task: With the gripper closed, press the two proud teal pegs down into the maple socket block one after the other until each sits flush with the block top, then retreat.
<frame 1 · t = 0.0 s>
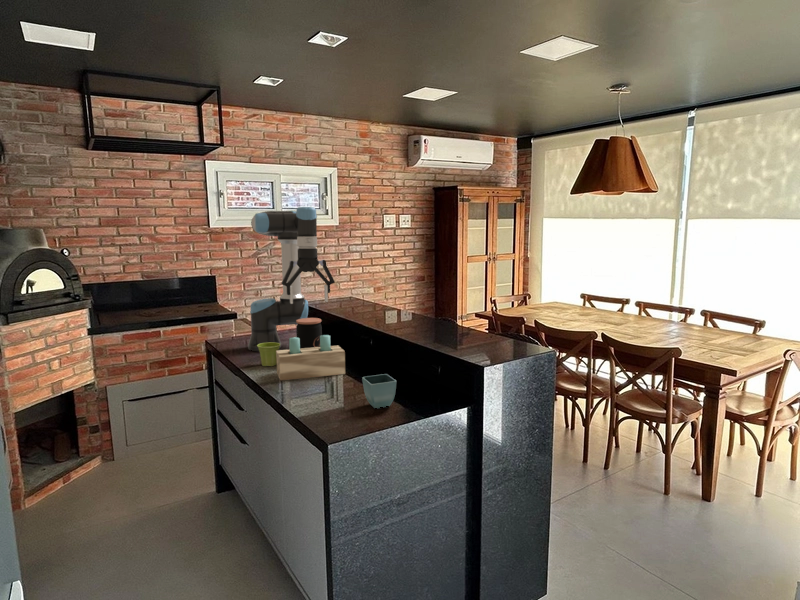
hand: (309, 302, 200), 28 cm above the countertop, fingers open, 13 cm apart
peg 2: (325, 346, 202), point 10 cm above the countertop, slide at 5.5 cm
socket block: (310, 373, 202), on the countertop
peg 1: (294, 348, 198), point 10 cm above the countertop, slide at 5.5 cm
flower pot: (379, 406, 165), on the countertop
coffee jar: (310, 361, 221), on the countertop
plant pot: (269, 365, 215), on the countertop
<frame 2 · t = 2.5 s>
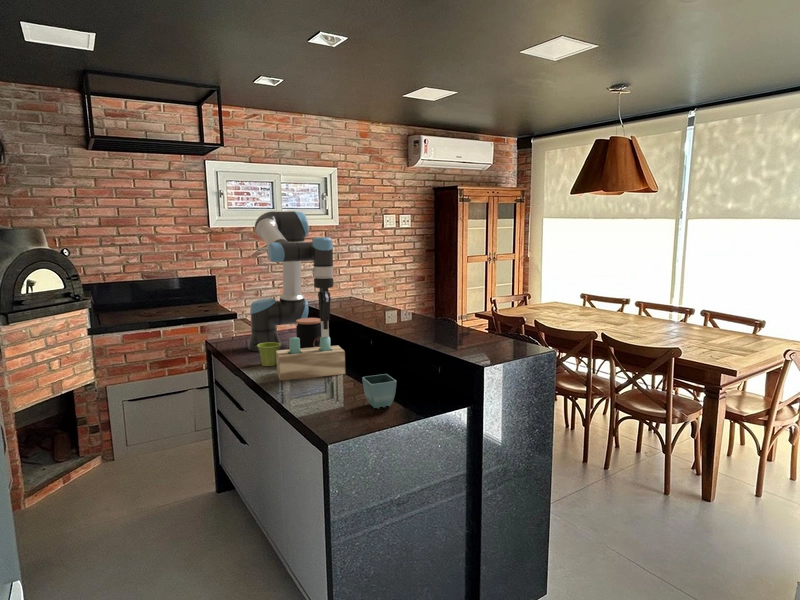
hand: (325, 336, 202), 14 cm above the countertop, fingers closed
peg 2: (325, 347, 202), point 10 cm above the countertop, slide at 5.0 cm, touching gripper
everything else where it was.
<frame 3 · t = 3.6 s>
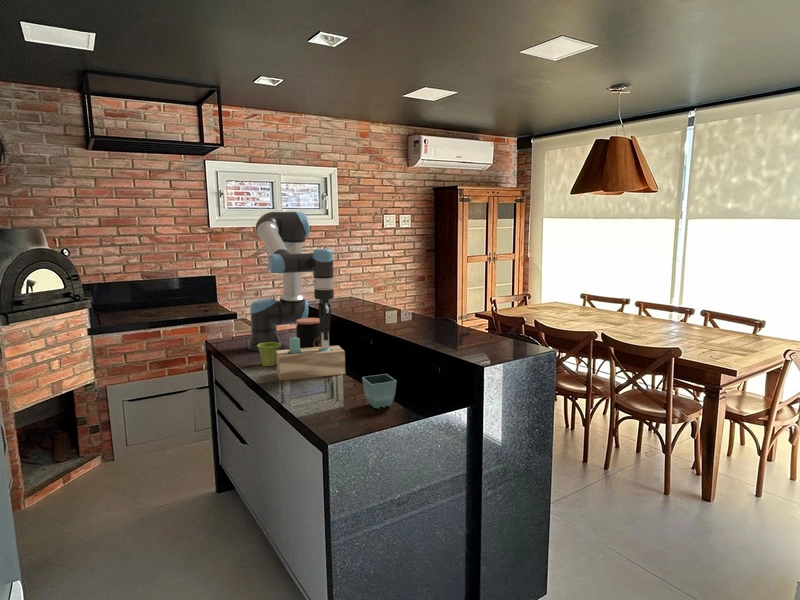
hand: (325, 347, 202), 10 cm above the countertop, fingers closed
peg 2: (325, 358, 203), point 6 cm above the countertop, slide at 0.6 cm, touching gripper
everything else where it was.
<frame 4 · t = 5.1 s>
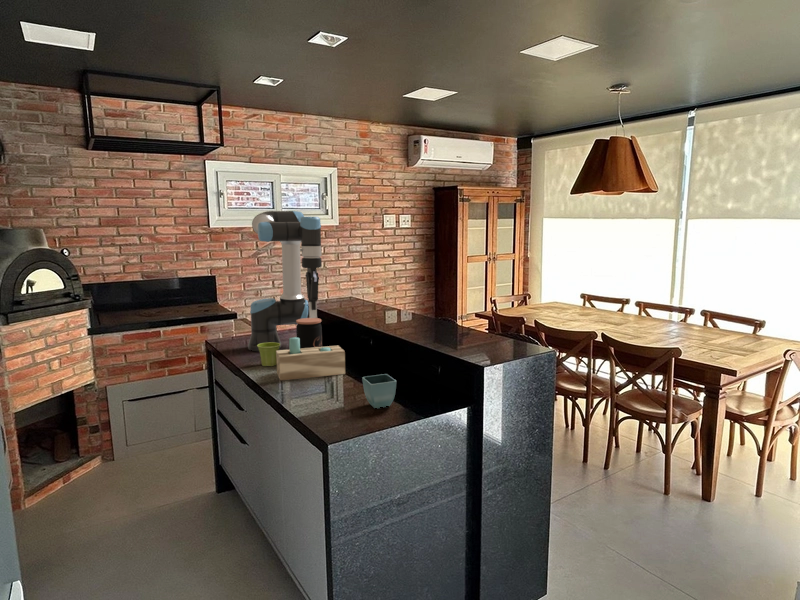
hand: (313, 317, 199), 22 cm above the countertop, fingers closed
peg 2: (325, 358, 203), point 6 cm above the countertop, slide at 0.5 cm
everything else where it was.
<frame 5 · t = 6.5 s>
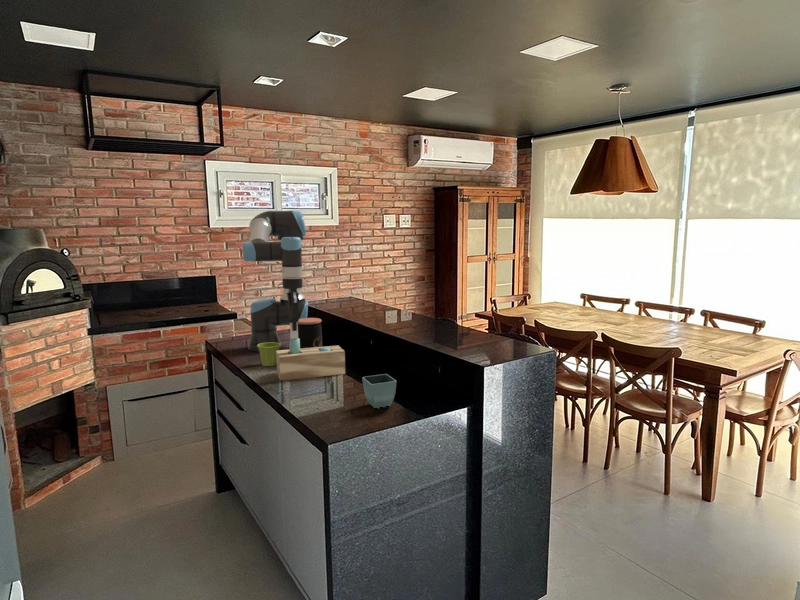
hand: (294, 338, 198), 14 cm above the countertop, fingers closed
peg 1: (294, 349, 198), point 10 cm above the countertop, slide at 5.2 cm, touching gripper
everything else where it was.
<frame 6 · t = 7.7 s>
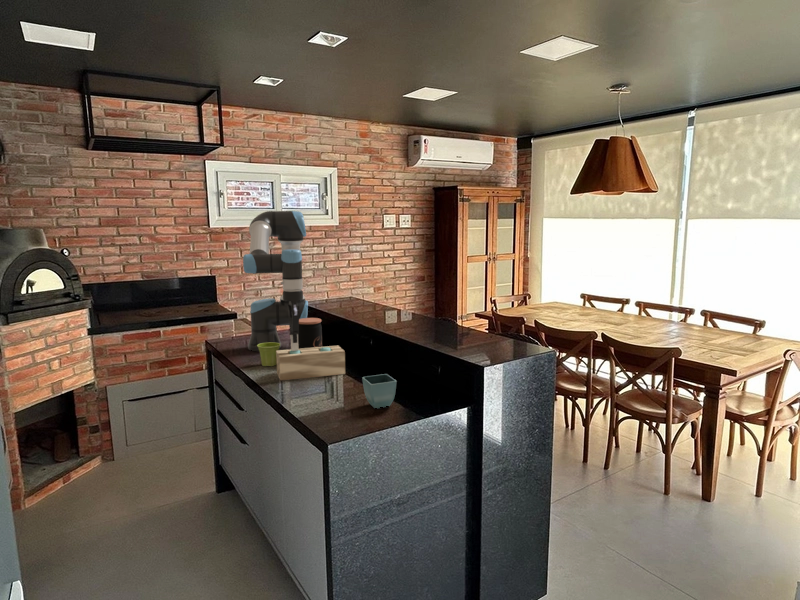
hand: (294, 350, 198), 10 cm above the countertop, fingers closed
peg 1: (295, 361, 199), point 6 cm above the countertop, slide at 0.6 cm, touching gripper
everything else where it was.
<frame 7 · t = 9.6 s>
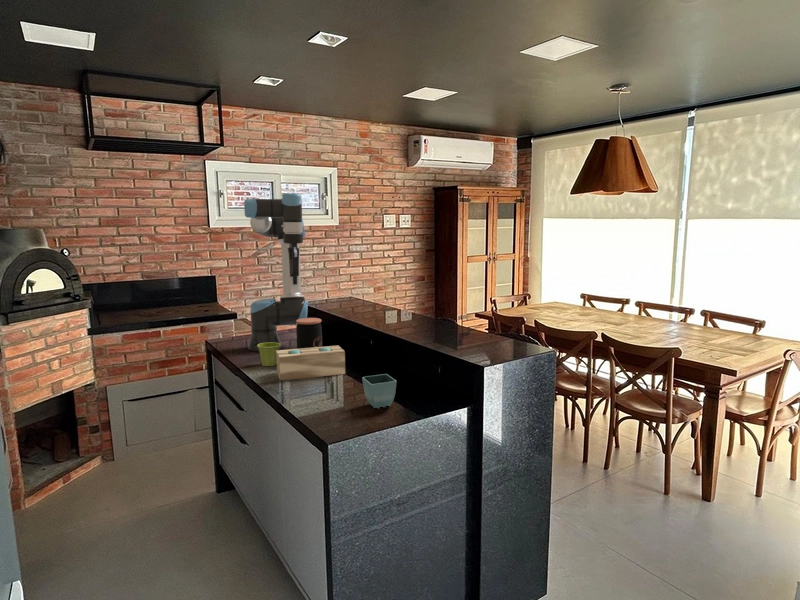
hand: (294, 292, 205), 31 cm above the countertop, fingers closed
peg 1: (295, 361, 199), point 6 cm above the countertop, slide at 0.5 cm
everything else where it was.
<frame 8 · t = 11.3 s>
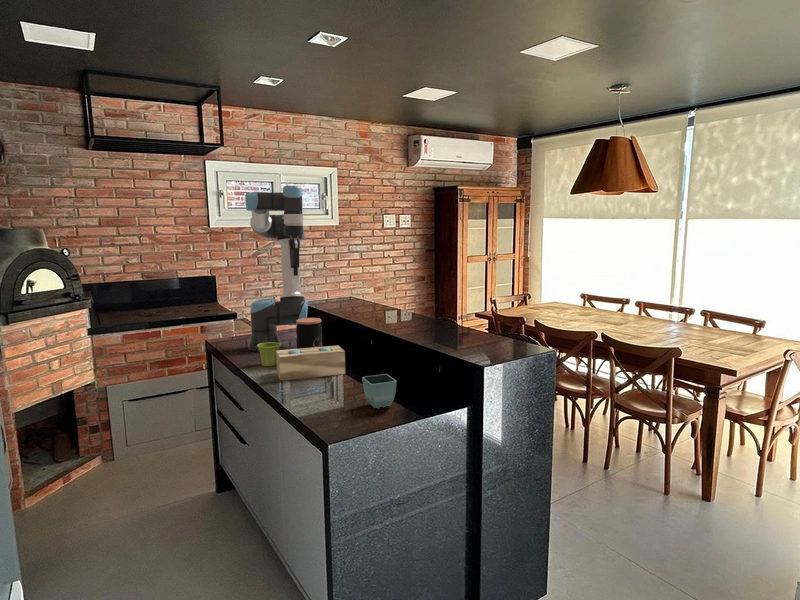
hand: (295, 283, 208), 34 cm above the countertop, fingers closed
nothing on the countertop moved.
at the end: peg 2 slide at 0.5 cm; peg 1 slide at 0.5 cm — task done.
